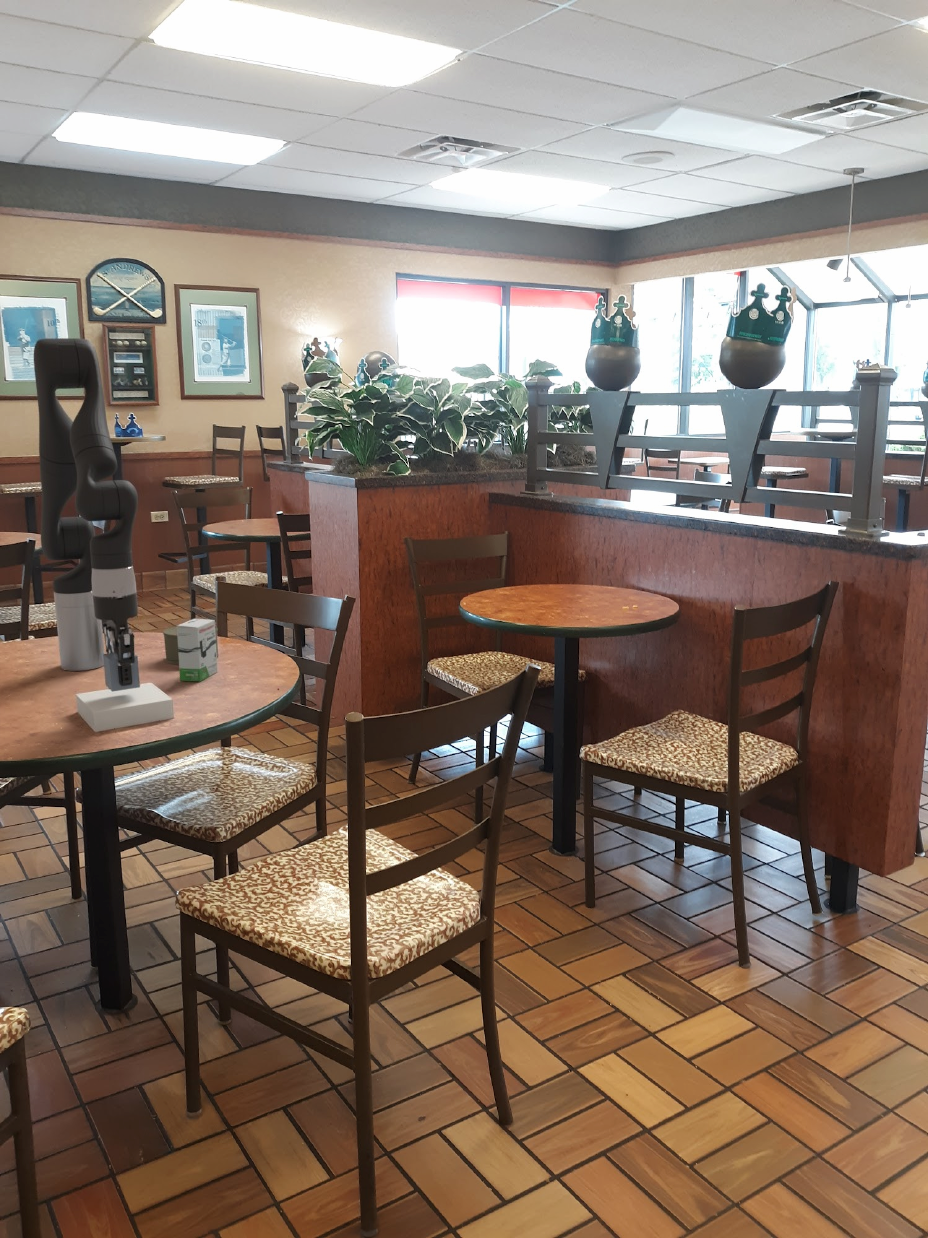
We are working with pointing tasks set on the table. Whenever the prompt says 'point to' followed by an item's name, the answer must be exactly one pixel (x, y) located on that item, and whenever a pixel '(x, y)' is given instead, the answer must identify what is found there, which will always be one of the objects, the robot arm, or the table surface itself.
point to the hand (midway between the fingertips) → (122, 681)
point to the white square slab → (124, 707)
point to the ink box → (197, 649)
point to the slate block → (113, 675)
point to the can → (175, 644)
